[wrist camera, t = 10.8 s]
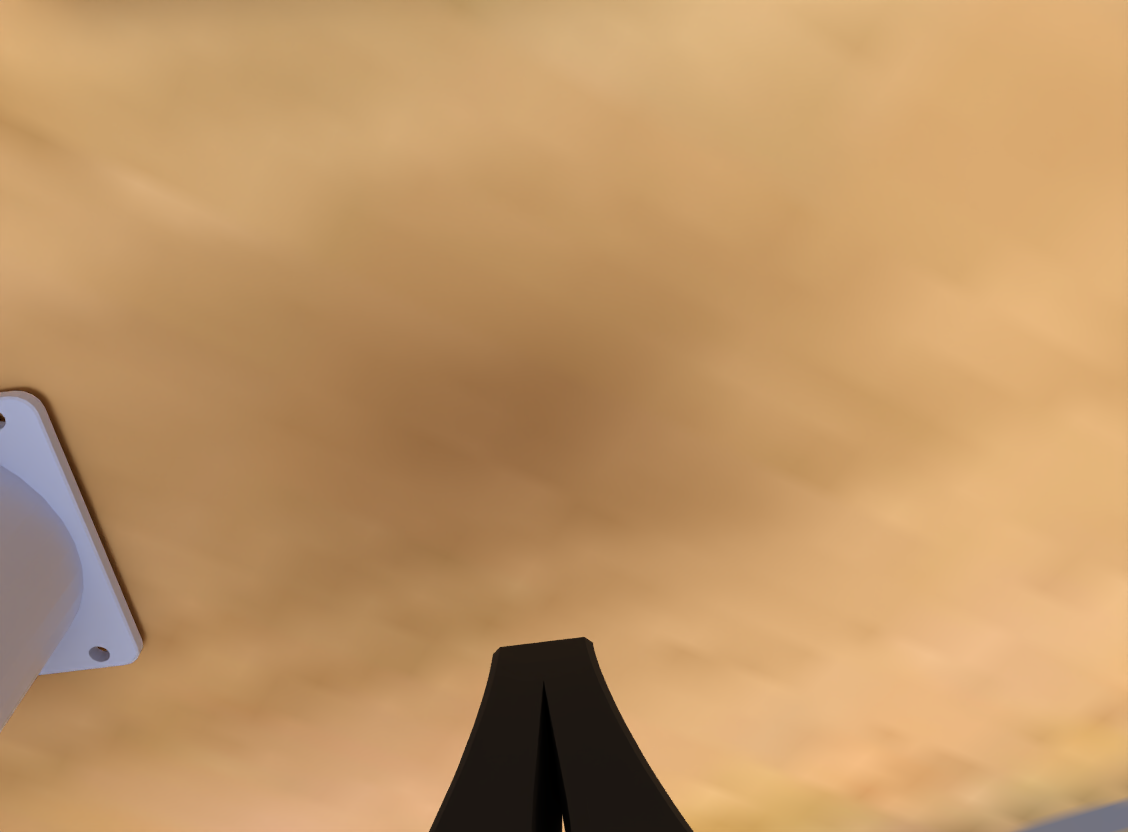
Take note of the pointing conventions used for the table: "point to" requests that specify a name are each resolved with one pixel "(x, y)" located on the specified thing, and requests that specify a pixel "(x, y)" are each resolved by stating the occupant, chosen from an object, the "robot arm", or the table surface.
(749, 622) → the table surface
